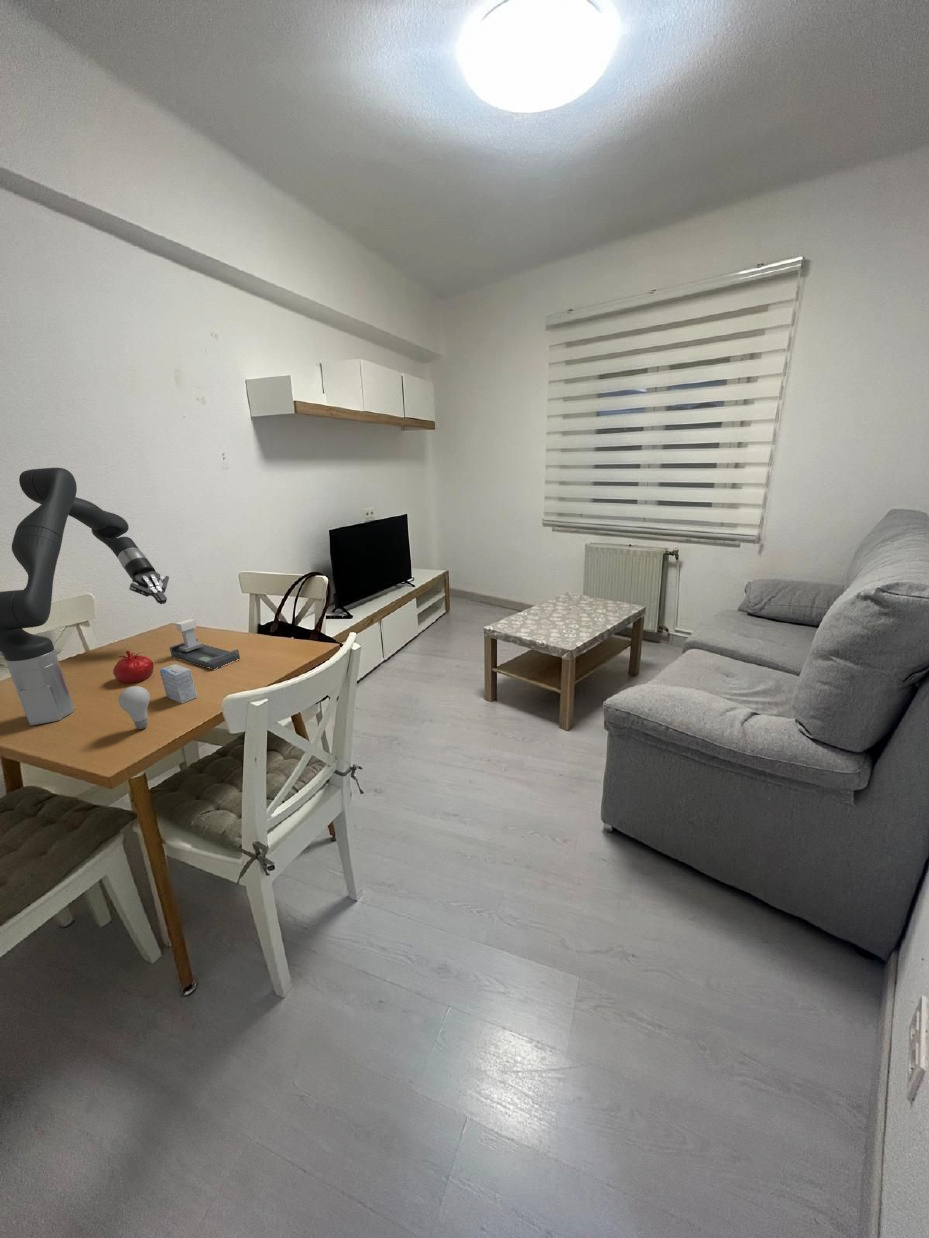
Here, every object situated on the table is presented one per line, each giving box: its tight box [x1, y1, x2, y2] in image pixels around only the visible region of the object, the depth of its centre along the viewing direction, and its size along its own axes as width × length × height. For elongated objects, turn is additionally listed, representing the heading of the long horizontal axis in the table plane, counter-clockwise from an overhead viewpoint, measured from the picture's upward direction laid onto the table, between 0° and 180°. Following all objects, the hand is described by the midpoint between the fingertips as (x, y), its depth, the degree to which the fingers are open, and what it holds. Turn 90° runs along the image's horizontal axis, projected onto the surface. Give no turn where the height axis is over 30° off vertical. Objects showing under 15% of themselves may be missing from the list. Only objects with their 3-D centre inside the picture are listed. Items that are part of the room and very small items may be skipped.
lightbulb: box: [118, 685, 151, 730], centre depth 111 cm, size 6×6×11 cm
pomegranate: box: [112, 650, 155, 684], centre depth 139 cm, size 10×10×9 cm
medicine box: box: [159, 663, 198, 704], centre depth 126 cm, size 8×4×9 cm, turn 58°
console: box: [168, 638, 241, 670], centre depth 154 cm, size 24×9×4 cm, turn 60°
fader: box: [175, 618, 205, 652], centre depth 155 cm, size 4×6×9 cm, turn 150°
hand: (163, 602), depth 158 cm, fingers closed
